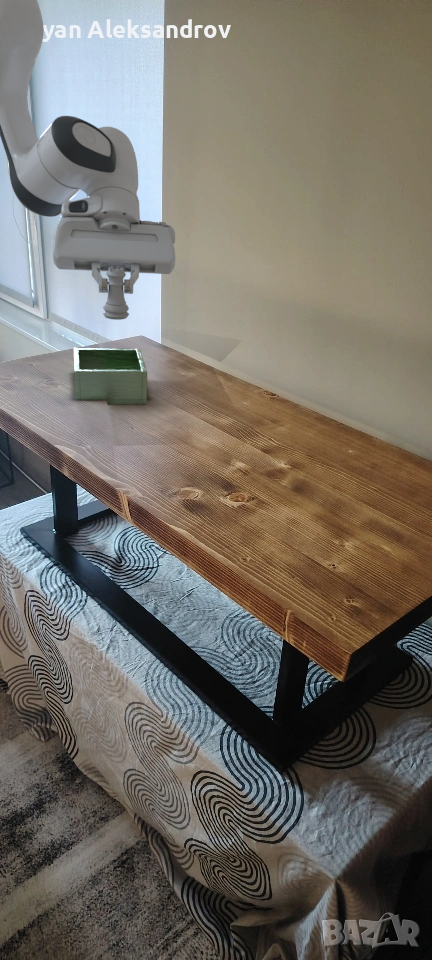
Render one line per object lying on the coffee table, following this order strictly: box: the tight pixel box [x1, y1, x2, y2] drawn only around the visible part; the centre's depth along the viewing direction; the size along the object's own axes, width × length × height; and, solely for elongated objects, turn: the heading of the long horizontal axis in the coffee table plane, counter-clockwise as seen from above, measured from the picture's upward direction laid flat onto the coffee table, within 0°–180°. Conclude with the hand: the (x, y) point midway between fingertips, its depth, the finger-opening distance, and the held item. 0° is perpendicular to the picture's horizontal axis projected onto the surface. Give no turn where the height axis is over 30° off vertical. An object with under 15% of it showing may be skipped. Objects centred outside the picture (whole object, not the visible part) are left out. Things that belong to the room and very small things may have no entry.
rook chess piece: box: [102, 266, 130, 321], centre depth 104 cm, size 4×4×8 cm
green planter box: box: [73, 347, 148, 406], centre depth 107 cm, size 12×12×6 cm
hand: (115, 291), depth 103 cm, fingers closed on rook chess piece, 3 cm apart
